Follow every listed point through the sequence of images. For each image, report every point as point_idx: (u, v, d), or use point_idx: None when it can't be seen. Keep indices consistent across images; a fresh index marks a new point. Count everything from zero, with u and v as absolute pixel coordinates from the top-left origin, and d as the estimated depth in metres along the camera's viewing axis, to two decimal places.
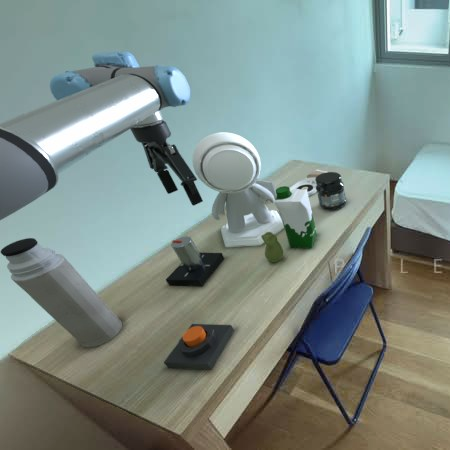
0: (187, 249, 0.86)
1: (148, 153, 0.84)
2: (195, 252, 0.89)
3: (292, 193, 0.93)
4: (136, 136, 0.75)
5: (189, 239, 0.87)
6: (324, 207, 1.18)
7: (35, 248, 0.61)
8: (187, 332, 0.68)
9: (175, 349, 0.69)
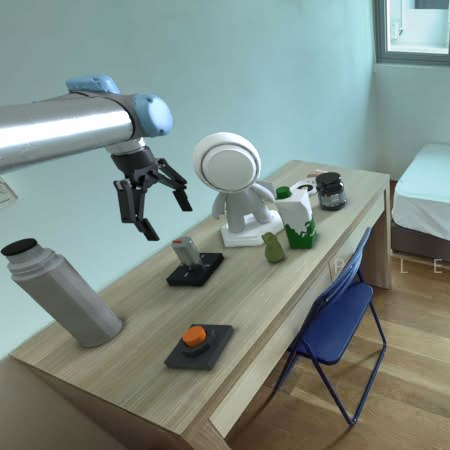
0: (187, 249, 0.86)
1: (163, 171, 0.81)
2: (195, 252, 0.89)
3: (292, 193, 0.93)
4: None
5: (189, 239, 0.87)
6: (324, 207, 1.18)
7: (35, 248, 0.61)
8: (187, 332, 0.68)
9: (175, 349, 0.69)
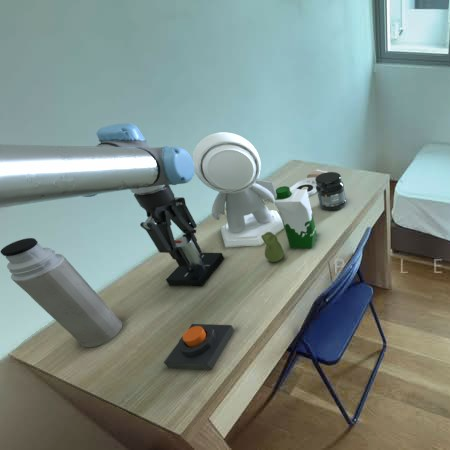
0: (187, 249, 0.86)
1: None
2: (195, 252, 0.89)
3: (292, 193, 0.93)
4: None
5: (189, 239, 0.87)
6: (324, 207, 1.18)
7: (35, 248, 0.61)
8: (187, 332, 0.68)
9: (175, 349, 0.69)
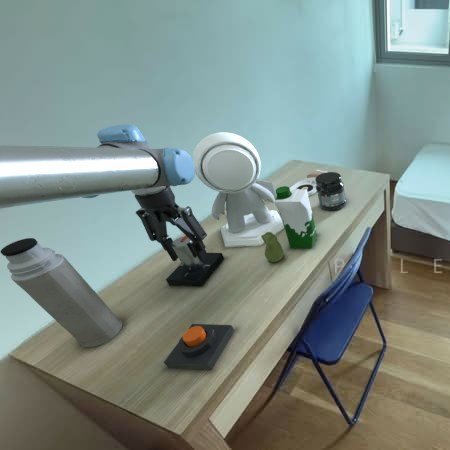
0: (174, 250, 0.86)
1: None
2: (182, 258, 0.87)
3: (292, 193, 0.93)
4: None
5: (180, 245, 0.85)
6: (324, 207, 1.18)
7: (35, 248, 0.61)
8: (187, 332, 0.68)
9: (175, 349, 0.69)
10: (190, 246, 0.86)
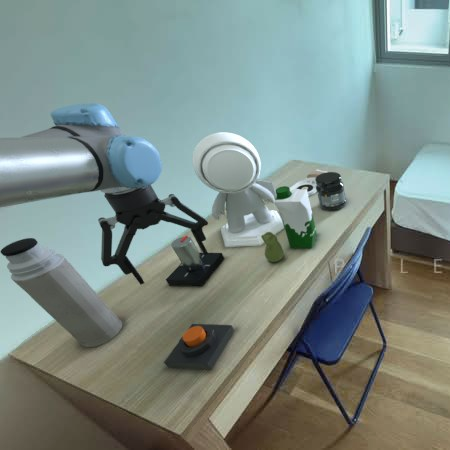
0: (174, 250, 0.86)
1: None
2: (182, 258, 0.87)
3: (292, 193, 0.93)
4: None
5: (180, 245, 0.85)
6: (324, 207, 1.18)
7: (35, 248, 0.61)
8: (187, 332, 0.68)
9: (175, 349, 0.69)
10: (190, 246, 0.86)
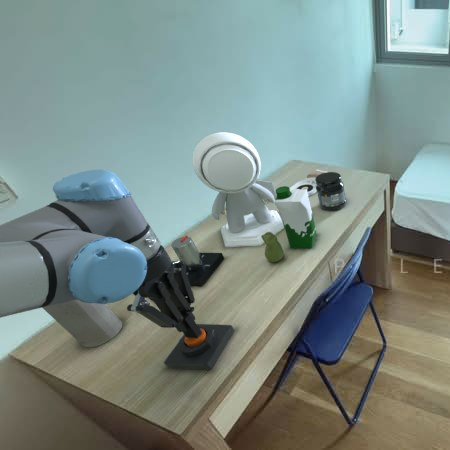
0: (174, 250, 0.86)
1: None
2: (182, 258, 0.87)
3: (292, 193, 0.93)
4: None
5: (180, 245, 0.85)
6: (324, 207, 1.18)
7: None
8: None
9: (175, 349, 0.69)
10: (190, 246, 0.86)
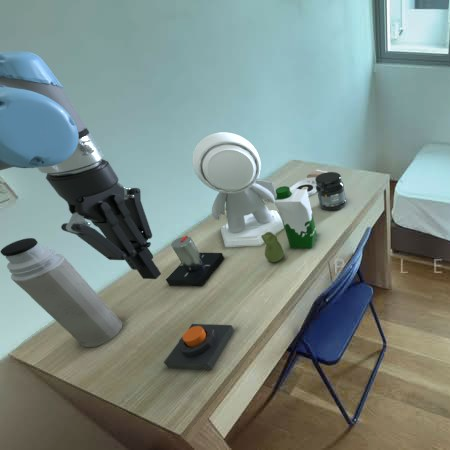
0: (174, 250, 0.86)
1: None
2: (182, 258, 0.87)
3: (292, 193, 0.93)
4: None
5: (180, 245, 0.85)
6: (324, 207, 1.18)
7: (35, 248, 0.61)
8: (187, 332, 0.68)
9: (175, 349, 0.69)
10: (190, 246, 0.86)
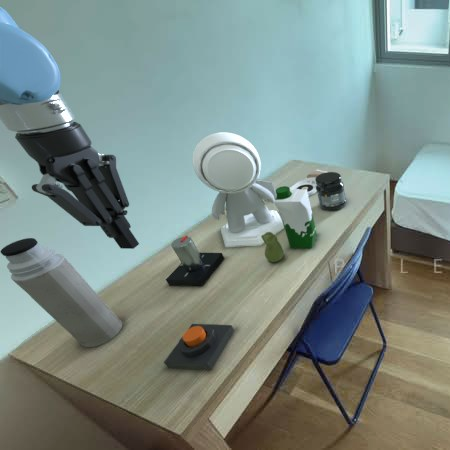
0: (174, 250, 0.86)
1: None
2: (182, 258, 0.87)
3: (292, 193, 0.93)
4: None
5: (180, 245, 0.85)
6: (324, 207, 1.18)
7: (35, 248, 0.61)
8: (187, 332, 0.68)
9: (175, 349, 0.69)
10: (190, 246, 0.86)
